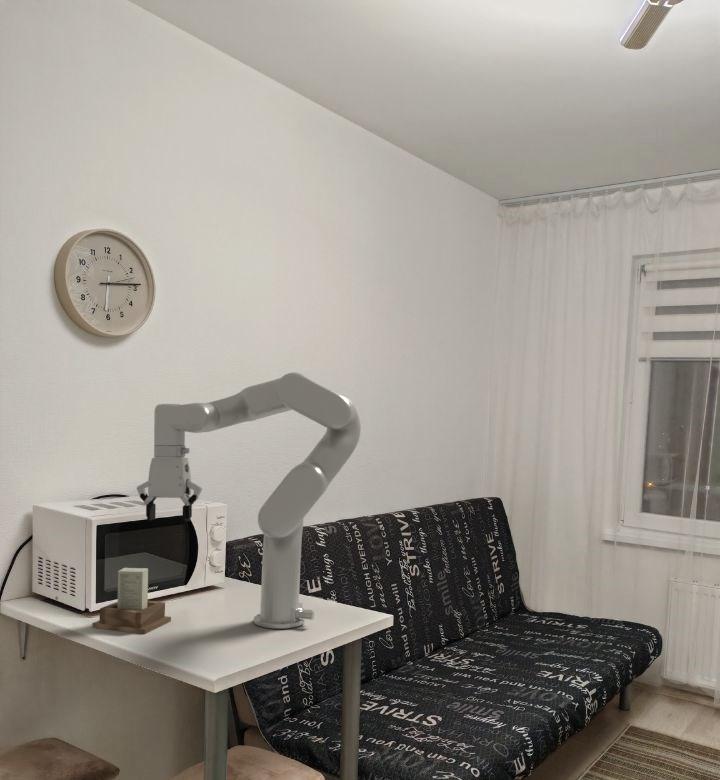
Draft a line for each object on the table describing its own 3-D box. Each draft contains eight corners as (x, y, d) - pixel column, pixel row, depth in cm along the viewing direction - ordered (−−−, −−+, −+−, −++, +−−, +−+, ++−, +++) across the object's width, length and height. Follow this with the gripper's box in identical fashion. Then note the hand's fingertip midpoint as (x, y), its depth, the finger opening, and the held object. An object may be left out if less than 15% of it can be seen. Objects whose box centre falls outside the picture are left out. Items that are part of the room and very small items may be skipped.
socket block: (170, 621, 191) (171, 602, 191) (145, 633, 179) (145, 614, 179) (120, 615, 194) (121, 597, 195) (92, 627, 183) (93, 608, 183)
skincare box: (147, 618, 189) (149, 568, 189) (141, 623, 184) (143, 571, 185) (122, 616, 189) (124, 566, 190) (115, 621, 185) (117, 570, 185)
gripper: (207, 452, 198) (206, 519, 197) (145, 451, 201) (144, 517, 201) (194, 453, 190) (194, 523, 190) (130, 452, 194) (130, 521, 193)
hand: (168, 520), depth 195 cm, fingers open, 9 cm apart
